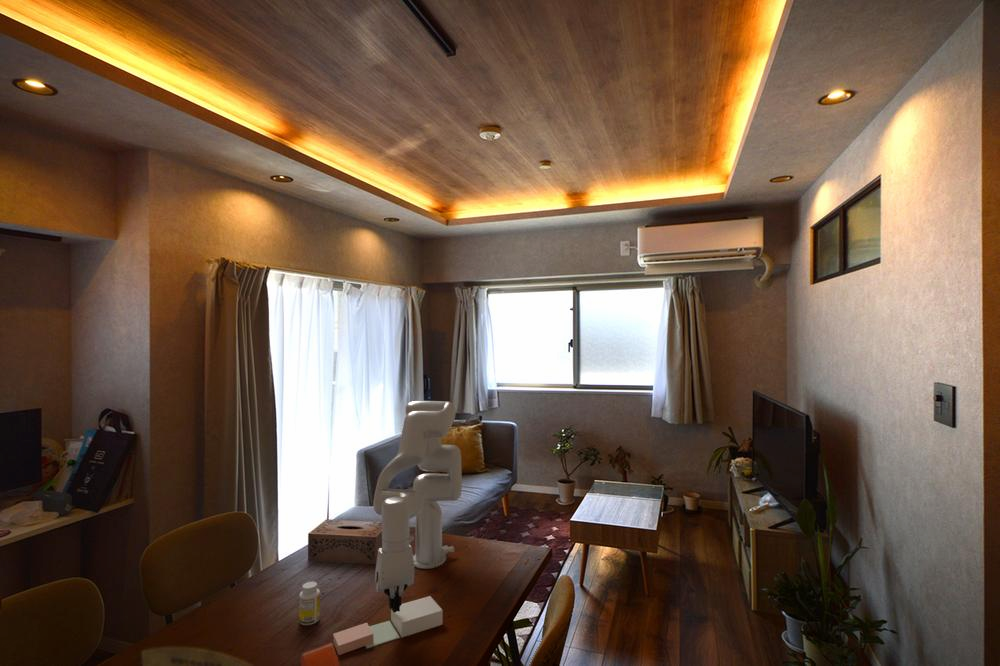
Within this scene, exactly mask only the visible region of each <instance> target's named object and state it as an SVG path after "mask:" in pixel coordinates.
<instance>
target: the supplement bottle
mask: <svg viewBox="0 0 1000 666" xmlns="http://www.w3.org/2000/svg"><path fill="white" fill-rule="evenodd" d="M301 587H302V588H301V591H300V592H299V597H298V600H299V603H298V604H299V606H298V607H299V611H298V614H299V617H298V618H299V620H298V621H299V623H300V624H301V625H303V626H311V625H314V624H317V623H318V622H319V620H320V618H321V591H320V589H319V588H318V583H317V581H308V582H305V583H304V584H302V586H301Z"/></svg>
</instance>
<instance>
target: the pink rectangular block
mask: <svg viewBox="0 0 1000 666" xmlns="http://www.w3.org/2000/svg"><path fill="white" fill-rule="evenodd" d="M369 626H370V625H369V624H368V622H365V623H362V624H358V625H355V626H352V627H349V628H347V629H343V630H340V631H337V632H334V633H333V634H332V636H333V637H332V638H333V639H332V640H333V645H334V648H335V649H336V652H337V654H338V656H341V655H343V654H346V653H349V652H351V651H352V652H353V651H354V650H357V649H360V648H362V647H365V646H366V645H369V644H371V643H374V638H373V632H372V630H371V629H370V627H369Z"/></svg>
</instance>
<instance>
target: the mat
mask: <svg viewBox="0 0 1000 666" xmlns="http://www.w3.org/2000/svg"><path fill="white" fill-rule="evenodd" d="M369 627H370V629H371V630H372V632H373V638H374V643H371V644H369V645H366V646H364V647H365V649H370V648H373V647H376V646H380V645H382V644H385V643H389V642H392V641H394V640H398V639H401V636H400V634H399V633H398V631H397V630H396V628H395V626H394V625H393V623H392V622H391V620H386V621H383V622H379V623H376V624H374V625H373V624H372V625H369Z"/></svg>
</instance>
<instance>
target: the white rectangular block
mask: <svg viewBox="0 0 1000 666" xmlns="http://www.w3.org/2000/svg"><path fill="white" fill-rule="evenodd" d="M443 616H444V615H443V609H442V608H441V606H440V605H439V604H438V603H437V602H436V601H435V600H434V598H432V596H431V595H429V596H428V595H427V596H426V597H422V598H419V599H414V600H411V601H408V602H404V603H401V606H400V611H396V612H395V613H394V612H393V611H392V609H390V622H391V624H392V625H393V627H394V629H395V630H396V632H397V633H398V635H399V636H400V638H404V637H408V636H411V635H414V634H417V633H420V632H423V631H426V630H429V629H433V628H436V627H440V626H441V625H443Z"/></svg>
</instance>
